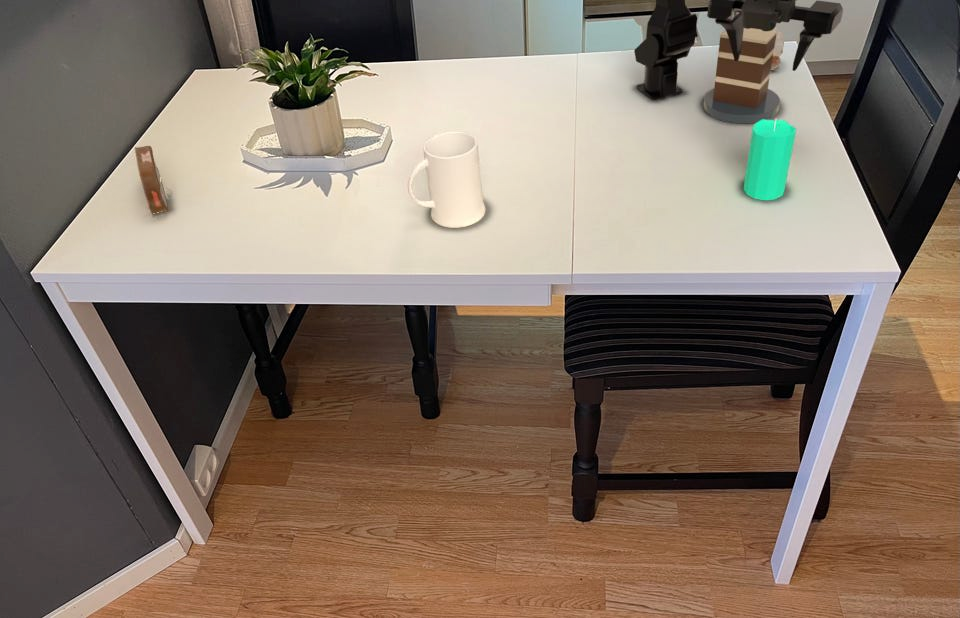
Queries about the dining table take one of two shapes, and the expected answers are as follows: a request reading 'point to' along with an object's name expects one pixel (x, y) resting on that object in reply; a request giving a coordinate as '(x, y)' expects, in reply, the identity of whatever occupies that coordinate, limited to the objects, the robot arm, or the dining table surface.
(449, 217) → the mug
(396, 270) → the dining table surface
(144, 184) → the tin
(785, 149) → the candle
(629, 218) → the dining table surface
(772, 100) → the plate
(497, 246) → the dining table surface
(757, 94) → the cake slice
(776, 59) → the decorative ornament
